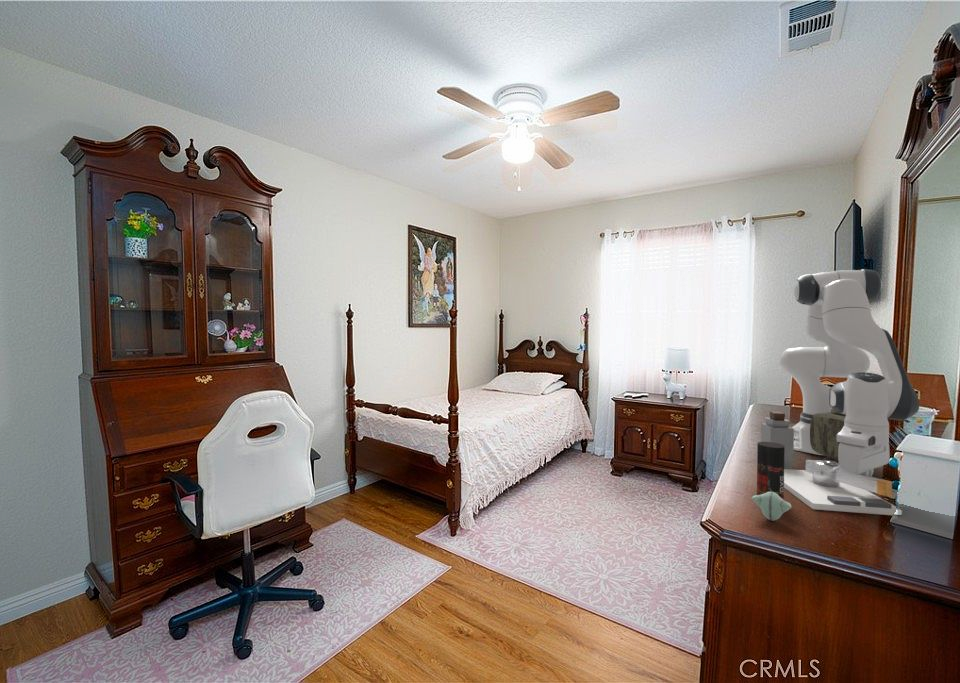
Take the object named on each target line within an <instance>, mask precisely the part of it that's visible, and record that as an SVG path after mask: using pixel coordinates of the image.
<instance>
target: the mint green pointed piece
mask: <svg viewBox="0 0 960 683" xmlns="http://www.w3.org/2000/svg"><path fill="white" fill-rule="evenodd" d="M751 500H752V501H753V502H754V503H755V504H756V505H757V506H758V507H759V509H760V510H761V513H762V514H763V515H764V517H765V518H766V519H768V520H769V521H770V522H772V521H777V520H779V519H780V518H781V517H782V515H783V514H784V513H787V512H788V511H789V510H791V508H792V504H791V503H790V502H788V501H786V500H785V499H784V500H783V499H782V498H781V497H779V495H778V494H777V493H774V492H767V493H765V494H761V495H757V494H756V495H755V494H754V495H753V496H752V497H751Z"/></svg>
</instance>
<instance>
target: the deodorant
mask: <svg viewBox="0 0 960 683" xmlns="http://www.w3.org/2000/svg"><path fill="white" fill-rule="evenodd" d="M756 450H757V451H756V453H757V457H756V463H757V464H756V495H761V494H765V493H767V492H774V493H777V494H778V495H779V497H781V498H782V499H783V500H784V501H785V488H784V454H785V446H784V445H782V444H778V443H773V442H761V441H759V442H757V449H756Z"/></svg>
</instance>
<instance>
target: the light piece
mask: <svg viewBox="0 0 960 683" xmlns="http://www.w3.org/2000/svg"><path fill="white" fill-rule="evenodd" d="M805 470H806V472H808V473H811V474H812V481H813V482H814V483H817V484H820V485H824V486H830V487H838V486H840V482H841V483H845V484H848V485H851V486H854V487H858V488H861V489H864V490H867V491H869V492H870V493H873V494H874V493H875V494H877V495H880V496H883V497H892V496H893V495H892V492H893V481H891V480H887V479H883V478H878V477H876V476H872V477H871V476H868V475H864V474H858V475H853V474H848V473H845V472H842V471H841V470H840V468H839V461H837V462H835V461H834V460H831V459H830V460H824V459H823V460H821V459H816V460H815V459H814V460H813V459H805Z"/></svg>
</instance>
